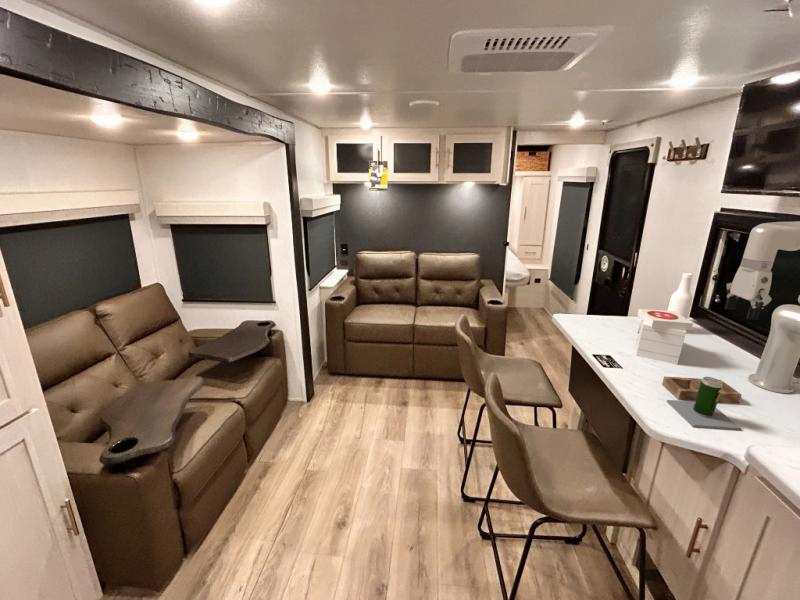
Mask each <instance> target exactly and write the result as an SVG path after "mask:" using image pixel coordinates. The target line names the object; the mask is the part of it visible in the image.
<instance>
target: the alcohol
mask: <svg viewBox="0 0 800 600" xmlns="http://www.w3.org/2000/svg"><path fill="white" fill-rule="evenodd" d="M693 276H694V274H693V273H690V272H683V273H682V277H681V281H680V283H679V286H678V289H677V290H675V292H673V293H672V295H671V296H670V300H669V303H668V308H667V311H675V312H677V313H678V314H680V315H681V316H683V317H684V318H686V319H687V320H688V317H689V313H690V310H691V307H692V304H693V295H692V294H691V291H690V290H691V284H692V279H693Z"/></svg>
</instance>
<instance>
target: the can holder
mask: <svg viewBox="0 0 800 600" xmlns="http://www.w3.org/2000/svg"><path fill="white" fill-rule="evenodd" d="M702 379H703V378H696V377H683V376H681V377H679V376H677V377H676V376H663V379H662V383H661V385H662V386H663V388H665V389H666V390H667V391H669V393H670V394H671V395H672V396H674V397H675V398H676V399H677V400H678V401H694V402H695V399H696V396H697V393H698V390H699V386H700V383H701V380H702ZM719 380H720V381H721V382H722V383H723V384H722V386H723V387H722V390H721V393H720V396H719V399H718V402H717V403H729V404H730V403H731V404H739V403H740V401H741V398H742V396H743V395H742V393H740V392H739V391H737V390H736V389H734V388H733V387H732V386H731V385H729V384H727V383H726V382H725V381H723V380H722V379H719Z"/></svg>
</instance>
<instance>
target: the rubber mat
mask: <svg viewBox="0 0 800 600" xmlns="http://www.w3.org/2000/svg"><path fill="white" fill-rule="evenodd" d="M666 403H667V404H668V405H669V406H670V407H672V409H674V410H675V411H676V412H677V413H678V414H679V415H680V416H681V417H682V418H683V419H684V420H685V421H686V422H687V423H688V424H689V425H690V426H691V427H692V428H698V429H699V428H700V429H715V430H716V429H717V430H729V431H742V427H741V426H740V425H738V424H737V423H736V422H735V421H733V420H732V419H731V418H730V417H728V416H727V415H726V414H725V413H723V412H722V411H721V410H720V409H719V408H717V407H716V408H715V411H714V414H713V415H712V416H711V417H703V416H700V415H698V414H696V413H695V412H694V411H693V406H694V403H695V401H693V400H678V399H677V400H675V399H674V400H673V399H667V400H666Z"/></svg>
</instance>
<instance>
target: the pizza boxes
mask: <svg viewBox="0 0 800 600" xmlns="http://www.w3.org/2000/svg"><path fill="white" fill-rule="evenodd" d="M637 317H639V318H640V319H641V320H640V322H639V323H640V324H639V325H638V329H637V332H636V333H637V335H638V337H637V341H636V345H637V346H636V347H635V348H636V350H635V352H636V353H635V356H636V357H638V358H639V357H640V358H646V359H648V360H655V361H659V362H664V363H667V364H671V365H678V363H679V361H680V357H681V352H682V350H683V346H684V341H685V338H686V334H687V331H692V330H693V325H694V322H692V321H691V320H689V319H688V318H687V319H686V318H684V317H683V316H681V315H680V314H678V313H677V312H675V311H668V310H662V309H648V308H638V312H637Z"/></svg>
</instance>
